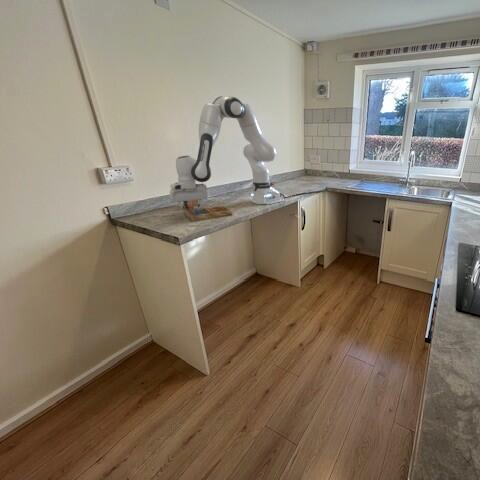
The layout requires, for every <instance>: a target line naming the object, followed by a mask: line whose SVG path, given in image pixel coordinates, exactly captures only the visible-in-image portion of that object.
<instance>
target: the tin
mask: <svg viewBox="0 0 480 480" xmlns="http://www.w3.org/2000/svg"><path fill="white" fill-rule="evenodd" d="M182 202H183V206H184V208H187V209H189V208H188V205H191V206H193V207H195V206H198V205H197V204H198V203H199V200H190V201H182Z"/></svg>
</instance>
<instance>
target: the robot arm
mask: <svg viewBox="0 0 480 480" xmlns="http://www.w3.org/2000/svg"><path fill="white" fill-rule="evenodd" d="M225 118H226V119H236V121H237V123H238V125H239V127H240V130H241V132H242V134H243V137H244V139H245V140H246V141H247V142H249V144H246V145H245V146H243V149H242V152H243V156H244V157H245V158H246V160H247V161H248V164H249V165H250V169H251V173H252V190H253V193H251V194H250V195H251V196H252V201H251V202H252V203H253V204H257V205H272V204H277V203H283V202H284V201H285V200H284V199H289V198H291V197H295V196H300V195H306V194H313V193H314V194H315V193H322V192H326V191H327V190H326V189H325V188H323V189H321V190H316V191H315V190H314V191H307V192H308V193H306V192H300V193H301V194H300V193H296V195H295V194H292V196H291V195H287V196H285V195H284V194H282V193H281V192H280V191H279V190H277V189H276V188H274V187H273V186H275V185H276V184H275V182H271V181H270V170H269V169H268V167H266V165H265V163H268V162H269V163H270V162H273V161H275V160H276V158H277V155H278V153H277V149H276V147H274V145H272V144H271V143H270V142H269V141H268V140H267V139H266V137H265V135H264V134H263V133H262V129H261V128H260V125H259V123H258V119H257V117H256V115H255V113H254V111H253V109H252V107H251V106H250V104H248V103H243V102H242V101H241V100H240V99H239V98H237V97H235V96H229V95H225V96H223V95H222V96H218V97H217V98H215V99H214V101H213V102H211V103H210V102H208V103H205V104H204V105H203V107H202V110H201V113H200V117H199V121H198V139H199V147H198V153H197V157H196V158H193V157H192V156H191V155H182V156H179V157H177V158H176V160H175V168H176V174H177V176H178V178H177V181H176V182H173V183H171V184H170V185H169V186H170V190H169V199H170V202H172V203H177V204H178V205H179V206H180V209H181V210H183V209H185V206H184V204H182V202H183V201H190V200H198V203H197V205H196V206H197V208H199V207H201V208H202V202H203V200H207V199H208V198H209V197H208V192H207V185H206V184H205V183H206V182H207V181H209V180H210V179H211V177H212V168H211V166H210V161H211V156H212V150H213V148H214V145H215V144H216V142H217V140H218V138H219V135H220V132H221V127H222V122H223V120H224V119H225ZM197 182H198V183H197Z"/></svg>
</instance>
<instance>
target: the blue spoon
mask: <svg viewBox="0 0 480 480" xmlns="http://www.w3.org/2000/svg"><path fill="white" fill-rule="evenodd" d="M194 209H195V211H196V214H197V215H202V214H203V213H201V210H199V209H200V208H199V207H197V208H196V207H195V208H194Z"/></svg>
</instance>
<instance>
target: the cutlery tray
mask: <svg viewBox="0 0 480 480" xmlns="http://www.w3.org/2000/svg"><path fill="white" fill-rule="evenodd" d="M198 209H199V210H201V213H203V214H202V215H197V214H196V211H195V208H193V210H189V209H187V210H185V211H184V212H185V216H186V217H187V218H188V219H189V220H190V221H192V222H196V221H203V220H209V219H216V218H223V217H229V216H232V215H233V212H232V211H233V210H231V209H230V208H228V207H227V206H226V205H215V206H209V207H201V208H198Z"/></svg>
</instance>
